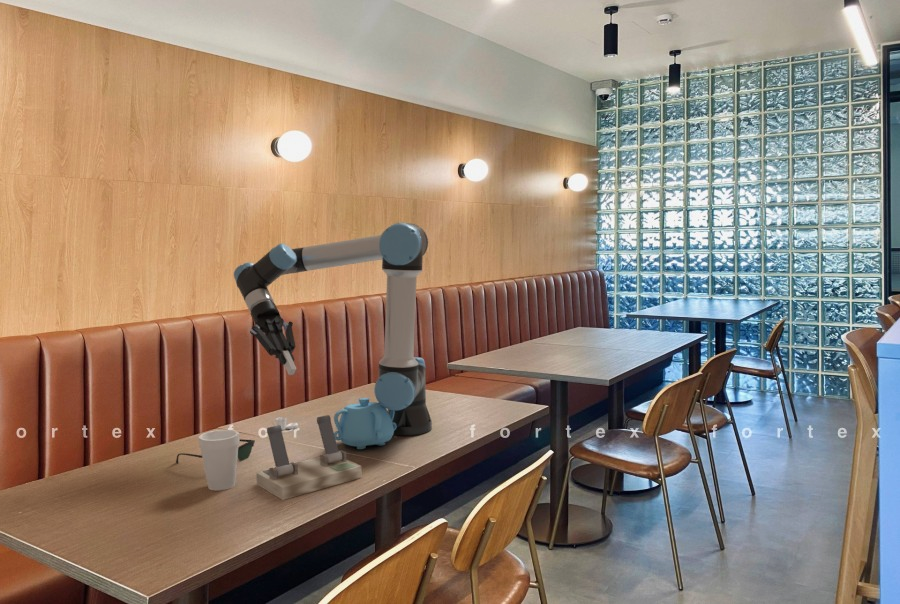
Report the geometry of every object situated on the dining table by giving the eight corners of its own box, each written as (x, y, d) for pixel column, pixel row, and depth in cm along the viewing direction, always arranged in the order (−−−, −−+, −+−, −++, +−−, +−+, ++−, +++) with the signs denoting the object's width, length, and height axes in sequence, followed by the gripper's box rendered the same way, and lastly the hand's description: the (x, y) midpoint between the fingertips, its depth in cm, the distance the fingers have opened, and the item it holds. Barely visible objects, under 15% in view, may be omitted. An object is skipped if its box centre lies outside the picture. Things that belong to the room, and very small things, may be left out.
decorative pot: (355, 437, 215) (352, 393, 215) (402, 438, 210) (400, 393, 210) (328, 450, 200) (325, 403, 200) (379, 451, 195) (376, 403, 194)
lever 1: (290, 473, 173) (278, 426, 176) (294, 471, 171) (282, 423, 174) (275, 477, 171) (264, 429, 173) (279, 475, 169) (267, 426, 172)
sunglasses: (210, 449, 204) (209, 433, 204) (256, 456, 197) (256, 439, 197) (166, 467, 189) (165, 449, 189) (215, 475, 182) (214, 457, 182)
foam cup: (200, 494, 168) (197, 442, 167) (202, 481, 177) (200, 431, 176) (241, 490, 171) (238, 438, 169) (241, 477, 179) (239, 428, 178)
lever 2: (339, 461, 182) (327, 415, 185) (343, 459, 180) (331, 413, 183) (325, 464, 180) (314, 418, 182) (329, 462, 178) (318, 416, 181)
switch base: (333, 464, 189) (332, 444, 188) (361, 477, 178) (361, 456, 177) (256, 484, 174) (255, 463, 174) (282, 499, 164) (281, 477, 163)
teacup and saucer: (300, 427, 227) (299, 415, 226) (292, 434, 219) (291, 421, 218) (274, 427, 228) (273, 414, 227) (265, 434, 220) (264, 421, 219)
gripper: (278, 314, 211) (309, 376, 200) (237, 318, 202) (267, 383, 192) (286, 297, 206) (317, 360, 196) (245, 301, 198) (275, 367, 187)
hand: (292, 371), depth 194 cm, fingers closed
